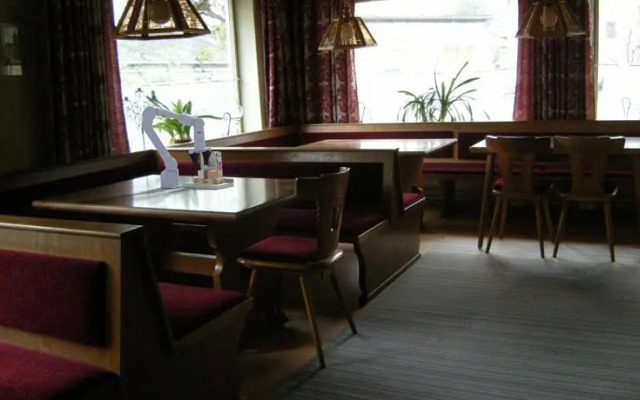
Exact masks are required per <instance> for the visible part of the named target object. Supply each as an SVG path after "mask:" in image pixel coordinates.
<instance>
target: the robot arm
mask: <svg viewBox="0 0 640 400" xmlns="http://www.w3.org/2000/svg"><path fill="white" fill-rule="evenodd" d="M141 116H142V119H141V128H142V129H143V131H144V133H145V134H146V136H147V137H148V138H149V140H150V142H151V143H152V145H153V146H154V148H155V149H156V151H157V152H158V154H159V155H160V157H161V159H162V160H163V162H164V163H163V164H164V167H165V169H164V170H162V171H161V172H160V186H159V188H160V189H161V188H163V189H177V188H182V187H183V186H184V185H182V184H181V185H180V177H179V175H180V174H179V168H178V164H179V163H178V162H177V160H176V158H174V157H173V156H171V154H170V152H169V151H168V149H167V148H166V146H165V145H164V143H163V142H162V140H161V139H160V137H159V136H158V134H157V132H156V131H155V129H154V127H153V122H154V119H156V116H157V117H167V118H171V119H173V120H177V121H178V123H179V124H180V125H181V124H182V125H184V126H188V127H193V132H192V133H193V144H194V145H193V146H194V148H192V149H188V156H189V157H190V159H191V162H192V164H193V167H194V168H198V167H199V157H200V152H202V155H203V160H204V165H208V162H209V158H210V155H211V152H212V147H206V137H205V135H206V134H205V124H206V123H205V121H204V119H202V118H201V117H199V116H197V115H195V114H194V115H191V114H189V113H188V112H181V113H178V112H174V111H172V110H168V109H165V108H162V107H156V106H155V107H153V106H151V105H150V106H146V107H145V108H144V109H143V111H142V115H141Z"/></svg>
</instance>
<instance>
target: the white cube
mask: <svg viewBox="0 0 640 400" xmlns="http://www.w3.org/2000/svg"><path fill="white" fill-rule="evenodd" d="M197 177H198V178H204V171H203V170H201V169H199V170H197Z"/></svg>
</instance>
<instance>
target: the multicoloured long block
mask: <svg viewBox="0 0 640 400" xmlns="http://www.w3.org/2000/svg"><path fill="white" fill-rule="evenodd" d="M211 170H213V169H206V170H203V171H204V178H198V176H196V177H192V182H193V183H206V184H222V183H225V178H226V177H223V178H217V179H208V171H211Z"/></svg>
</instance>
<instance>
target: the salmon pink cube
mask: <svg viewBox="0 0 640 400" xmlns="http://www.w3.org/2000/svg"><path fill="white" fill-rule="evenodd" d="M217 178H219V171H218V170H211V171H208V179H217Z"/></svg>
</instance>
